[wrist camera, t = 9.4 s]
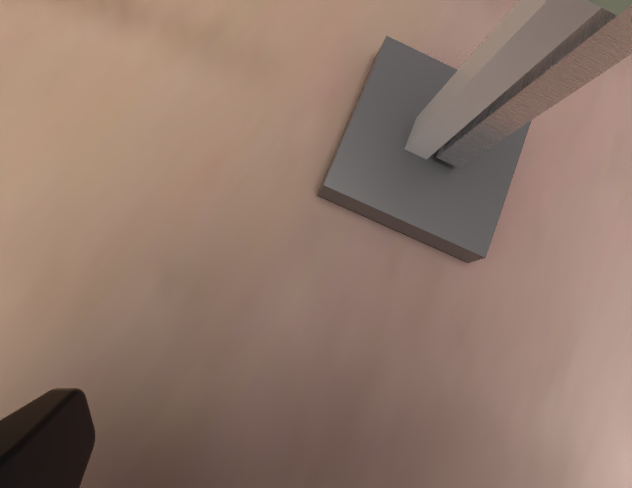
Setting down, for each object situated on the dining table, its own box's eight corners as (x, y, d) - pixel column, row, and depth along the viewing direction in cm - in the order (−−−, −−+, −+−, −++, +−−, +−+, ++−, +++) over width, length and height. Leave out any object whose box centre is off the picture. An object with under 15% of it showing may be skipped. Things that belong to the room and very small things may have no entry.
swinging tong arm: (454, 183, 20) (831, -47, 7) (429, 171, 20) (771, -82, 7) (476, 122, 20) (858, -182, 8) (452, 110, 20) (802, -217, 8)
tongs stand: (468, 262, 21) (931, 133, 7) (316, 195, 21) (499, -91, 7) (515, 121, 23) (978, -214, 9) (376, 55, 22) (628, -422, 8)
